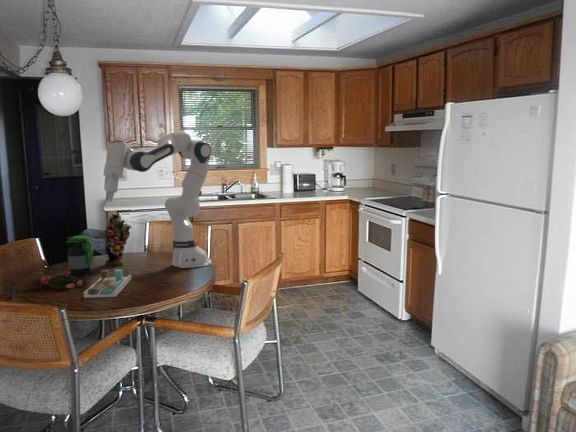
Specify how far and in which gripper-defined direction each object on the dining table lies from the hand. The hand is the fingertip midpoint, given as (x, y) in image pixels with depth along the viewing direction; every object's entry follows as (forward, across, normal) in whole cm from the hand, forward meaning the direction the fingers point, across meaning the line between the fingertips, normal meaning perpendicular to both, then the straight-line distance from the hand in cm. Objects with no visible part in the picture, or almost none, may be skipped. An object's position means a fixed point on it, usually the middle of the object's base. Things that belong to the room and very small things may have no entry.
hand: (108, 200), depth 226 cm
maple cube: (+40, -17, -4) cm, 43 cm away
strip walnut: (+41, -9, -1) cm, 42 cm away
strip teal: (+40, -11, -7) cm, 42 cm away
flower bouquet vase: (+37, +35, -15) cm, 53 cm away
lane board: (+41, -7, -6) cm, 42 cm away
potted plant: (+42, +26, +4) cm, 49 cm away
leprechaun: (+46, +4, +15) cm, 48 cm away
